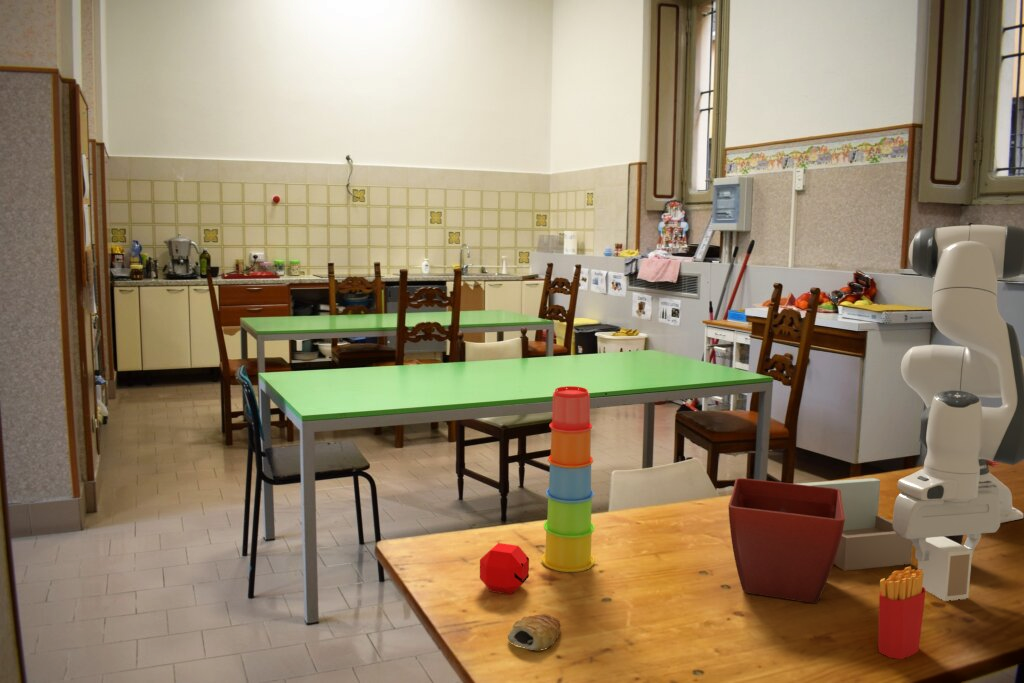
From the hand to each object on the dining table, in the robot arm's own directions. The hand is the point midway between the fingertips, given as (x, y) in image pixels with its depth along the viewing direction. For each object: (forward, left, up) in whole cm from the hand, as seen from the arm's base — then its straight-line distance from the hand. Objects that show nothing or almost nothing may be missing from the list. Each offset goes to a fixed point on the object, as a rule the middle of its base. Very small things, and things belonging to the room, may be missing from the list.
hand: (944, 558), depth 152 cm
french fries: (+23, +17, -7) cm, 29 cm away
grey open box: (+6, -18, -6) cm, 21 cm away
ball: (+77, -19, -7) cm, 79 cm away
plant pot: (+27, -9, -7) cm, 29 cm away
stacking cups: (+62, -28, -7) cm, 68 cm away
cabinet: (0, 0, -7) cm, 7 cm away
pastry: (+76, 0, -7) cm, 77 cm away
